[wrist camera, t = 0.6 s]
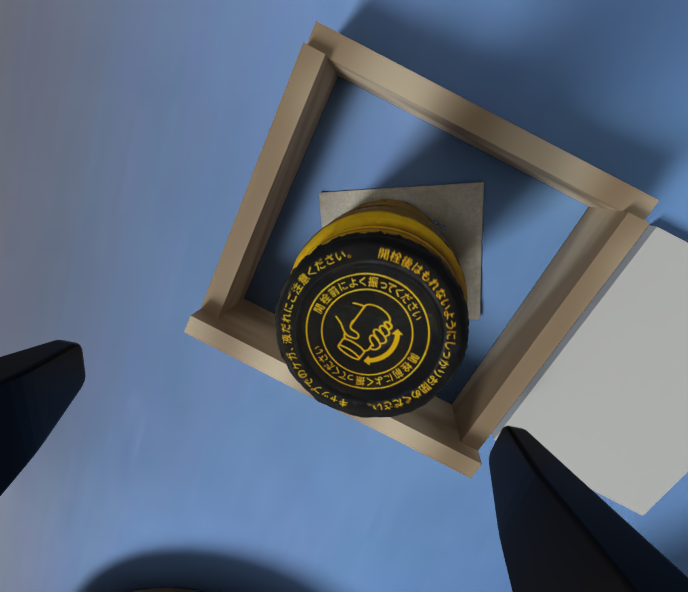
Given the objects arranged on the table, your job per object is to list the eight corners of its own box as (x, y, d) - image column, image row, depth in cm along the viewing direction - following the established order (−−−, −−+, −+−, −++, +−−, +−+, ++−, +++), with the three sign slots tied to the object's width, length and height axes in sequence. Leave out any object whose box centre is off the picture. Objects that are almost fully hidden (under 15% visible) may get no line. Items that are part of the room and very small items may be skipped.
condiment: (319, 192, 21) (225, 208, 10) (483, 182, 20) (597, 186, 8) (329, 320, 23) (261, 458, 12) (479, 317, 22) (566, 469, 10)
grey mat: (826, 317, 19) (839, 321, 19) (636, 507, 24) (642, 515, 23) (649, 225, 19) (657, 226, 19) (491, 433, 24) (493, 439, 23)
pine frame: (620, 197, 19) (684, 202, 15) (457, 424, 24) (470, 478, 19) (328, 45, 19) (308, 5, 15) (223, 304, 24) (184, 332, 19)
